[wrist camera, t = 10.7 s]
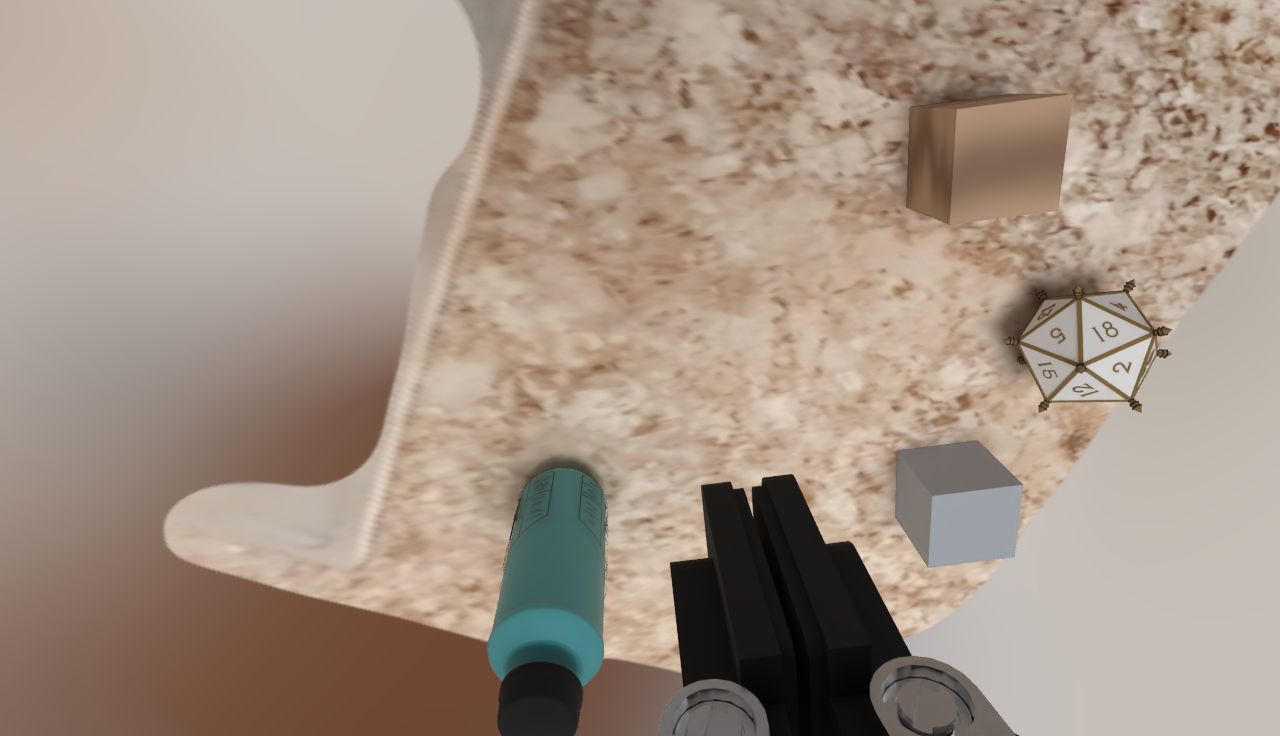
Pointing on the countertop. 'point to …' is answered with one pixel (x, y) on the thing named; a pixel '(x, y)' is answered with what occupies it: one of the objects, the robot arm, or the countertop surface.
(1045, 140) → the walnut block
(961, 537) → the slate block
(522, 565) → the beverage bottle
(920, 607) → the countertop surface
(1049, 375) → the game die
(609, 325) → the countertop surface
